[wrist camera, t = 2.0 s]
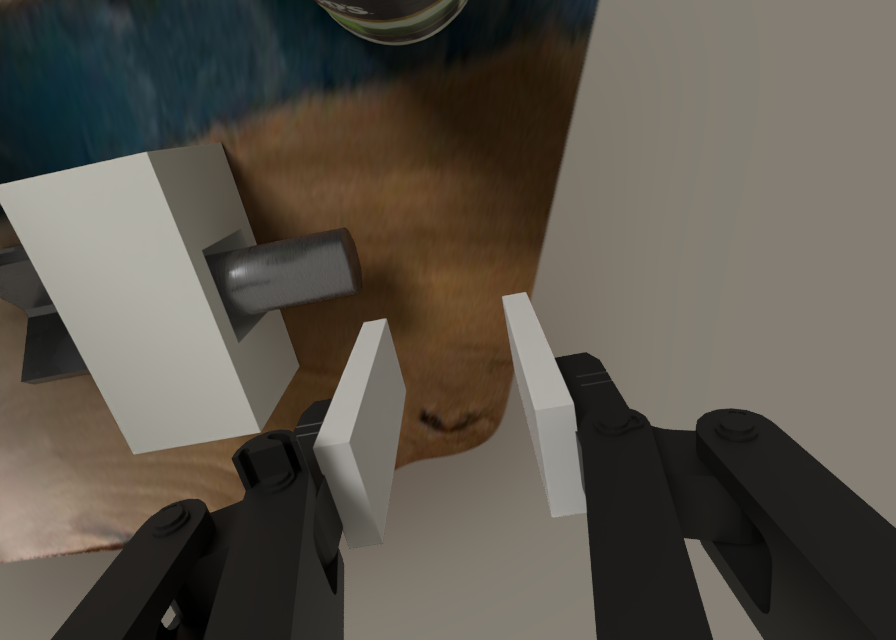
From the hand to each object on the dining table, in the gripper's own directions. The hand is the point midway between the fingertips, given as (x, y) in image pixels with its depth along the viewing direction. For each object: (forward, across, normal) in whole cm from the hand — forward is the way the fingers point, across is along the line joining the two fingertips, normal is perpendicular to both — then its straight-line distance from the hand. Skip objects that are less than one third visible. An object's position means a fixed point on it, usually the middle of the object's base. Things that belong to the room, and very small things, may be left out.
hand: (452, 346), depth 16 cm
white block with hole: (+19, -17, 0) cm, 25 cm away
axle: (+16, -14, 0) cm, 22 cm away
